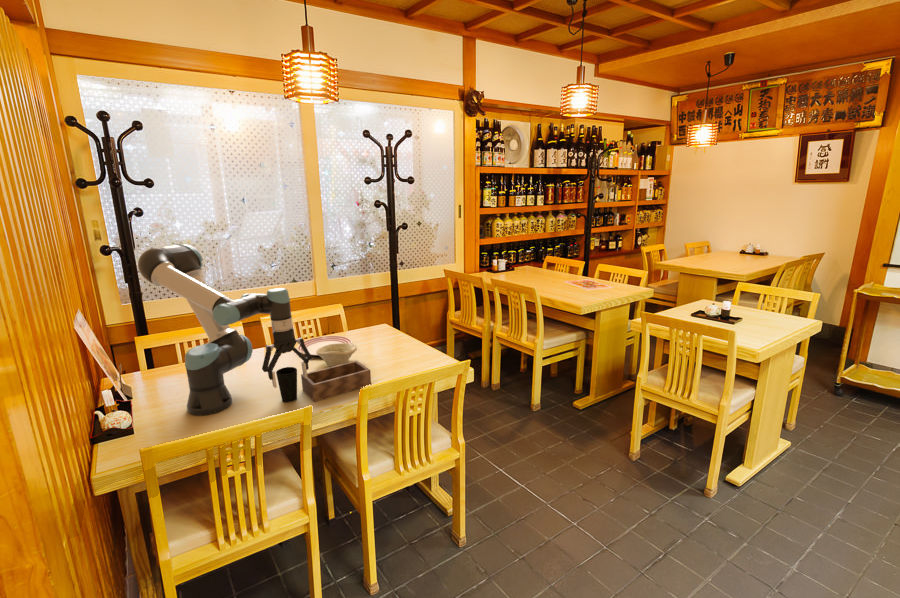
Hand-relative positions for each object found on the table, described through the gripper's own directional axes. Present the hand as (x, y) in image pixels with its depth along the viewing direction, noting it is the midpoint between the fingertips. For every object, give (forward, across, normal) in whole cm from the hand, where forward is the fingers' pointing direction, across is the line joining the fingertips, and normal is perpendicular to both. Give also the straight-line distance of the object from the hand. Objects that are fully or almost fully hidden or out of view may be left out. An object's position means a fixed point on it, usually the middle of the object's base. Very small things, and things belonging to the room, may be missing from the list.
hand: (290, 382), depth 174 cm
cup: (+7, -1, 0) cm, 7 cm away
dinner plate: (+8, +32, +46) cm, 57 cm away
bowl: (+8, +29, +23) cm, 38 cm away
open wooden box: (+8, +18, -2) cm, 19 cm away
